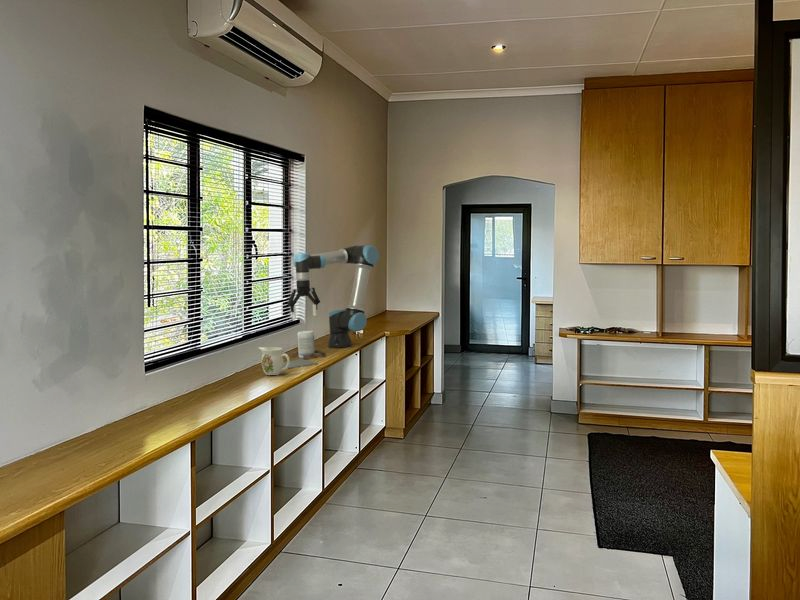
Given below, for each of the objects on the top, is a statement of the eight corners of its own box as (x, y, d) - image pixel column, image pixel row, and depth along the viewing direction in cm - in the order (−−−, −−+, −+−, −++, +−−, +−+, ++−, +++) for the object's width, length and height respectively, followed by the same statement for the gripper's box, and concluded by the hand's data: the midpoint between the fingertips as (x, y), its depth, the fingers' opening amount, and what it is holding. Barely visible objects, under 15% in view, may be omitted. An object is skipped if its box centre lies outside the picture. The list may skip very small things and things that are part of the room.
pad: (302, 359, 390) (302, 359, 390) (318, 363, 376) (318, 363, 376) (273, 364, 379) (273, 363, 379) (289, 368, 365) (289, 367, 365)
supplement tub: (318, 356, 398) (316, 331, 397) (303, 359, 393) (302, 333, 392) (310, 354, 406) (309, 330, 405) (295, 357, 401) (294, 331, 400)
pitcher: (284, 377, 341) (283, 350, 340) (253, 376, 348) (252, 349, 347) (295, 373, 352) (294, 346, 350) (265, 372, 358) (264, 345, 357)
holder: (312, 353, 411) (311, 349, 410) (325, 356, 398) (325, 352, 398) (291, 356, 402) (291, 352, 402) (304, 359, 390) (304, 355, 390)
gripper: (318, 278, 406) (319, 314, 408) (280, 281, 391) (282, 318, 393) (325, 278, 400) (326, 315, 402) (286, 281, 385) (288, 319, 387)
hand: (304, 316), depth 397 cm, fingers open, 13 cm apart
